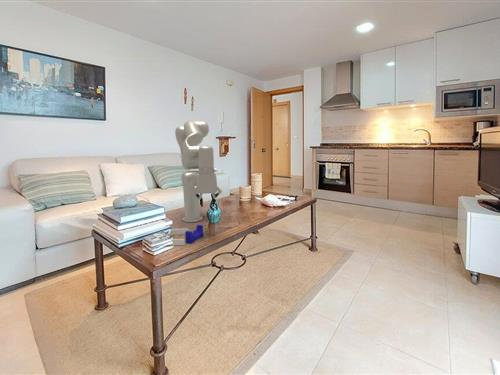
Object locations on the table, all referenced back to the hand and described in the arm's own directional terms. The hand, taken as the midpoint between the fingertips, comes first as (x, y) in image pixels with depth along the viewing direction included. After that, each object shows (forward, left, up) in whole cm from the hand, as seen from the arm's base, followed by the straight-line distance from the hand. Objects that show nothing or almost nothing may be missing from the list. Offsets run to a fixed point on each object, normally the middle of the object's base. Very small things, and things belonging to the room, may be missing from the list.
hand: (207, 205), depth 136 cm
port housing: (0, -16, -17) cm, 24 cm away
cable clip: (0, -8, -18) cm, 20 cm away
